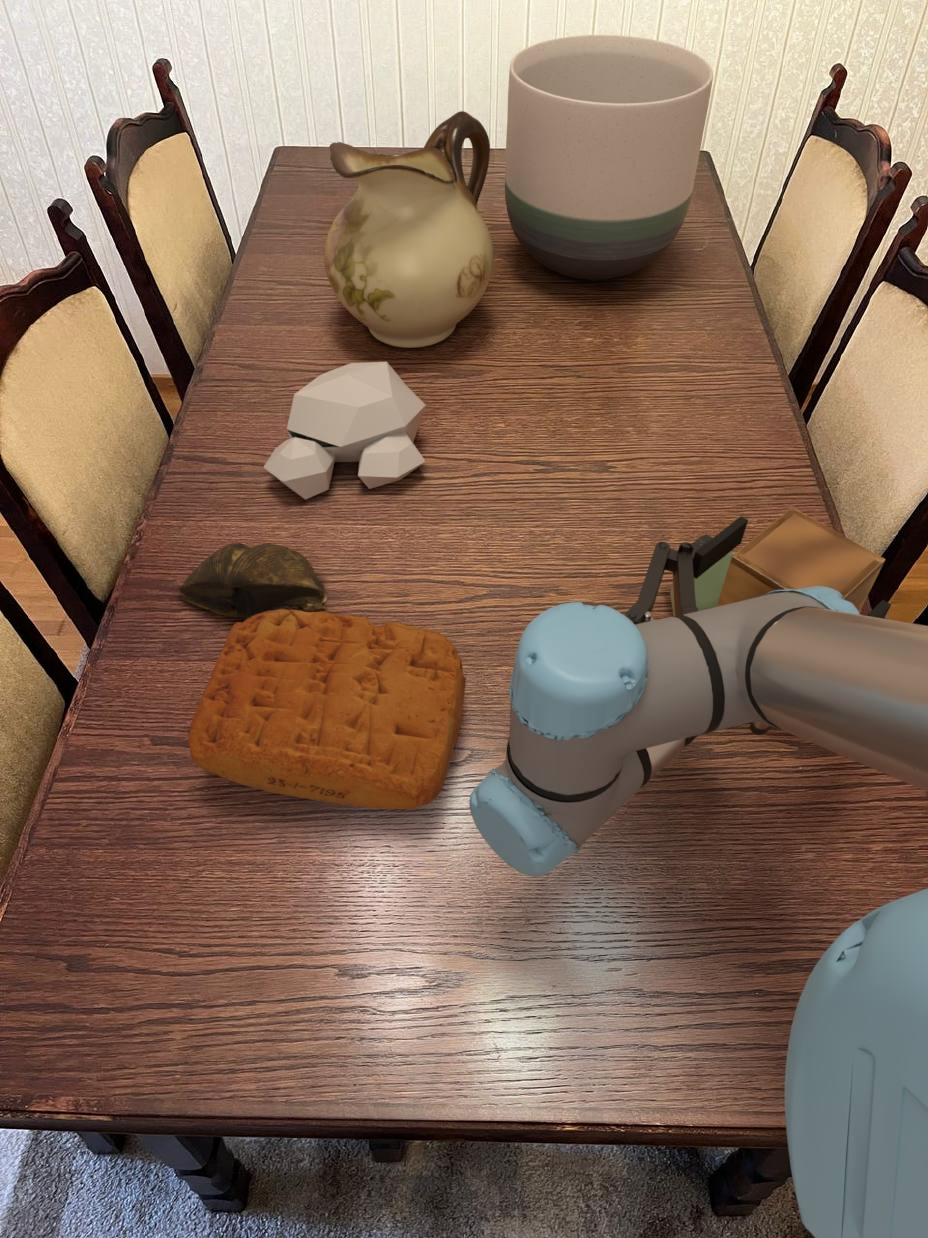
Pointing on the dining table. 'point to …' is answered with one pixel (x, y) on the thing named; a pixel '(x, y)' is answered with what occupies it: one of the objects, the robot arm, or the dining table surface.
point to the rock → (350, 429)
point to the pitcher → (412, 236)
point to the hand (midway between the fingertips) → (808, 569)
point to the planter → (602, 150)
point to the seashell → (254, 581)
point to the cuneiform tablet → (332, 709)
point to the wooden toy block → (800, 562)
